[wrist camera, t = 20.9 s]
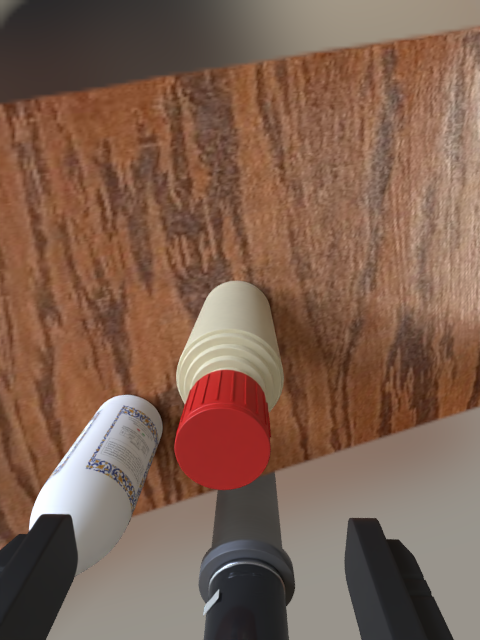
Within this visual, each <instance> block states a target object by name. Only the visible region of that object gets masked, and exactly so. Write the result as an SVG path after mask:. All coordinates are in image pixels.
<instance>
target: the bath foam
mask: <svg viewBox="0 0 480 640" xmlns="http://www.w3.org/2000/svg"><path fill="white" fill-rule="evenodd" d="M162 430H163V425H162V420H161V417H160V414H159V413H158V411H157V409H156V408H155V407H154V406H153V405H152V404H151V403H149V402H148V401H146V400H145V399H143V398H140V397H137V396H133V395H120V396H116V397H113V398H111V399H109V400H108V401H106V402H105V403H104V404H103V405H102V406H101V407H100V408H99V410H98V411H97V413H96V414H95V415H94V417H93V418H92V419H91V421H90V422H89V423H88V425H87V426H86V427H85V429H84V430H83V432H82V433H81V434H80V436H79V437H78V439H77V440H76V441H75V443H74V444H73V445H72V447H71V448H70V450H69V451H68V452H67V454H66V455H65V457H64V458H63V459H62V461H61V462H60V463H59V465H58V466H57V468H56V469H55V470H54V472H53V473H52V474H51V476H50V477H49V479H48V480H47V481H46V483H45V484H44V486H43V488H42V490H41V491H40V493H39V495H38V497H37V499H36V502H35V504H34V507H33V510H32V514H31V518H30V526H29V531H30V529H31V528H32V526H33V525H34V523H35V522H36V520H37V519H38V518H39V516H40V515H42V514H70V515H71V517H72V520H73V527H74V533H75V539H76V545H77V551H78V565H77V570H76V574H75V576H77V575H79V574H80V573H82V572H84V571H85V570H87V569H88V568H90V567H91V566H93V565H94V564H96V563H97V562H99V561H100V560H101V559H102V558H103V557H105V556H106V555H107V554H108V553H109V552H110V551H111V550H112V549H113V547H114V546H115V545H116V544H117V542H118V541H119V540H120V538H121V537H122V535H123V533H124V532H125V530H126V528H127V526H128V524H129V522H130V519H131V517H132V514H133V511H134V509H135V506H136V503H137V501H138V498H139V495H140V493H141V490H142V487H143V484H144V482H145V479H146V476H147V474H148V471H149V468H150V466H151V463H152V460H153V458H154V455H155V452H156V450H157V447H158V444H159V441H160V438H161V435H162Z"/></svg>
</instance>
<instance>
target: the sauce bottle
mask: <svg viewBox="0 0 480 640" xmlns="http://www.w3.org/2000/svg"><path fill="white" fill-rule="evenodd" d="M218 370H235V371H239V372H242V373H244V374H246V375H248V376H250V377H251V378H253V379H254V380H255V381H256V382H257V383H258V384H259V385H260V387H261V388H262V390H263V392H264V393H265V397H266V402H267V403H268V411H269V412H270V411H271V410H272V408H273V407H274V405H275V404H276V402H277V401H278V399H279V397H280V395H281V392H282V388H283V381H284V375H283V368H282V363H281V358H280V354H279V349H278V344H277V339H276V334H275V329H274V324H273V320H272V315H271V310H270V305H269V302H268V300H267V298H266V296H265V295H264V294H263V293H262V291H261V290H259V289H258V288H257V287H256V286H254V285H252V284H250V283H247V282H243V281H230V282H226V283H223V284H221V285H219V286H218V287H216V288H215V289H214V290H212V292H211V293H210V294H209V295H208V297H207V299H206V301H205V303H204V305H203V307H202V310H201V312H200V314H199V317H198V319H197V321H196V323H195V326H194V328H193V330H192V333H191V335H190V337H189V339H188V342H187V344H186V346H185V349H184V351H183V353H182V355H181V358H180V360H179V363H178V366H177V373H176V380H177V386H178V390H179V393H180V395H181V398H182V400H183V402H184V404H185V403H186V400H187V398H188V395H189V391H190V389H192V387H193V386H194V385H195V383H196V382H197V381H198V380H199V379H200V378H202V377H203V376H205V375H207V374H209V373H211V372H214V371H218Z"/></svg>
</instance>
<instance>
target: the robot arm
mask: <svg viewBox="0 0 480 640" xmlns="http://www.w3.org/2000/svg"><path fill="white" fill-rule="evenodd" d="M77 565H78V551H77V545H76V539H75V533H74V527H73V520H72V517H71V515H70V514H42V515H40V516H39V518H38V519H37V520H36V522H35V523H34V525H33V526H32V528H31V529H30V531H29V532H28V534H19V535H18V536H16V537H15V538H14V539H13V540H12V541H11V542H9V543H8V544H7V545H6V546H5V547H3V548H2V549H1V550H0V640H46V638H47V636H48V634H49V632H50V629H51V627H52V625H53V623H54V621H55V619H56V616H57V614H58V612H59V610H60V608H61V606H62V603H63V601H64V599H65V597H66V595H67V593H68V590H69V588H70V586H71V584H72V582H73V579H74V577H75V574H76V570H77ZM345 574H346V581H347V585H348V589H349V593H350V597H351V601H352V604H353V608H354V612H355V615H356V619H357V623H358V627H359V631H360V635H361V639H362V640H454V639H453V637H452V635H451V633H450V631H449V629H448V627H447V625H446V622H445V620H444V618H443V616H442V614H441V612H440V610H439V608H438V606H437V603H436V601H435V599H434V597H432V595H431V591H430V589H429V587H428V585H427V582H426V580H424V578H423V574H422V572H421V570H420V568H419V565H418V564H417V561H416V559H415V557H414V556H413V555H412V553H411V552H410V551H409V550H408V549H407V548H406V547H405V546H404V545H403V544H402V543H401V542H400V541H399V540H392V539H386V538H385V535H384V533H383V530H382V528H381V526H380V524H379V521H378V520H377V519H376V518H350V519H349V521H348V529H347V540H346V550H345ZM206 612H207V614H206V623H205V633H204V640H289V636H288V625H287V613H286V601H285V583H284V579H283V577H282V575H281V574H280V572H279V571H278V570H277V569H276V568H275V567H274V566H272V565H271V564H269V563H267V562H265V561H262V560H259V559H255V558H237V559H233V560H230V561H227V562H225V563H223V564H221V565H220V566H219V567H218V568H216V569H215V571H214V572H213V573H212V575H211V577H210V580H209V586H208V603H207V604H206V605H205V606H204V614H203V615H205V613H206Z"/></svg>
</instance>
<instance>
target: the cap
mask: <svg viewBox="0 0 480 640" xmlns="http://www.w3.org/2000/svg"><path fill="white" fill-rule="evenodd" d="M176 434H177V436H176V439H175V455H176V459H177V461H178V464H179V466H180V467H181V469H182V470H183V471H184V473H185V474H186V475H187V476H188V477H189V478H191V479H192V480H193V481H195V482H196V483H198V484H200V485H202V486H205V487H208V488H212V489H218V490H230V489H236V488H240V487H243V486H245V485H247V484H249V483H251V482H252V481H254V480H255V479H256V478H258V477H259V476H260V475H261V473H262V472H263V471H264V469H265V468H266V466H267V464H268V462H269V458H270V452H271V448H270V437H271V432H270V421H269V411H268V403H267V402H266V397H265V393H264V392H263V390H262V388H261V387H260V385H259V384H258V383H257V382H256V381H255V380H254V379H253V378H251V377H250V376H248V375H246V374H244V373H242V372H239V371H235V370H218V371H214V372H211V373H209V374H207V375H205V376H203V377H202V378H200V379H199V380H198V381H197V382H196V383H195V385H194V386H193V387H192V389H190V391H189V395H188V398H187V400H186V403H185V406H184V410H183V413H182V416H181V419H180V422H179V426H178V429H177V432H176Z"/></svg>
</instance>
